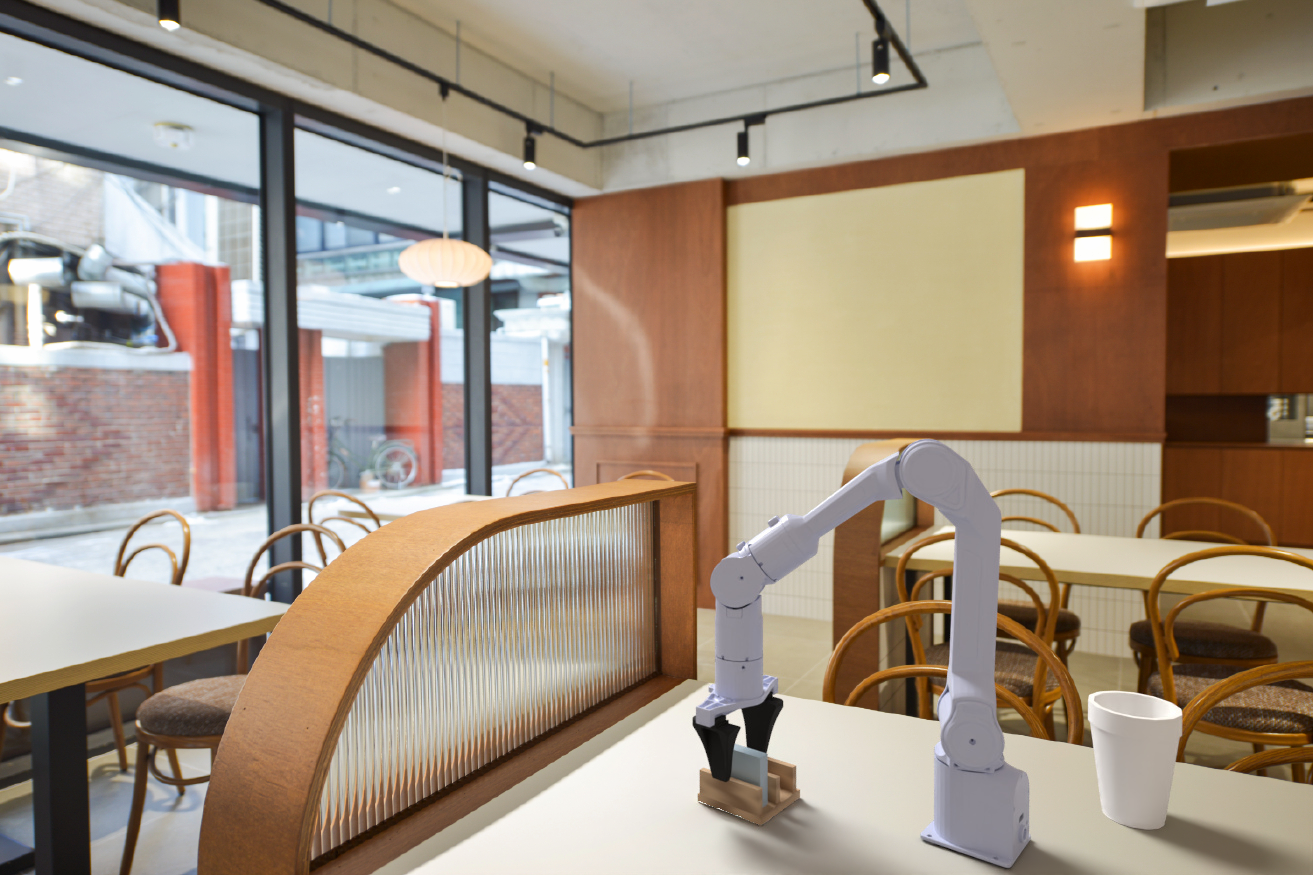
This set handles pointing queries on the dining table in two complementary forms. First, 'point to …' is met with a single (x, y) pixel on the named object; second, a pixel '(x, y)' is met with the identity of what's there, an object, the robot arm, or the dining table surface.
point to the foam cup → (1134, 755)
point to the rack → (751, 793)
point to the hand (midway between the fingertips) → (739, 767)
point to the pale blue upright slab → (751, 768)
